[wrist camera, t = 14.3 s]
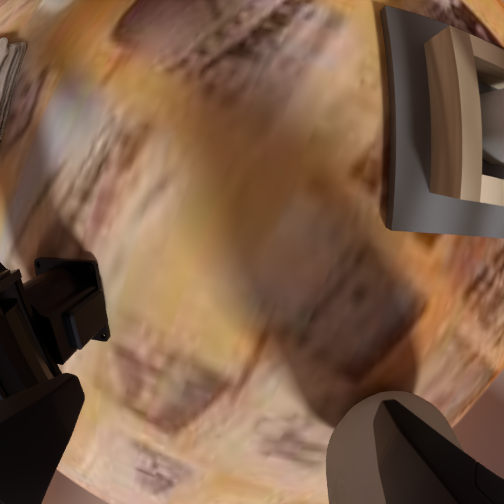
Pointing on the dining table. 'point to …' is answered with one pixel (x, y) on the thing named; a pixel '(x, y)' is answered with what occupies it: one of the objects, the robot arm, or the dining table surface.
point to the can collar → (440, 128)
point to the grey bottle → (369, 448)
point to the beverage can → (492, 126)
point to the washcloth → (8, 74)
